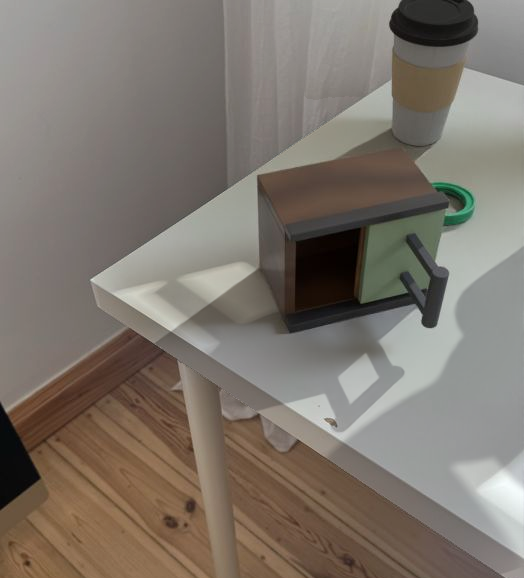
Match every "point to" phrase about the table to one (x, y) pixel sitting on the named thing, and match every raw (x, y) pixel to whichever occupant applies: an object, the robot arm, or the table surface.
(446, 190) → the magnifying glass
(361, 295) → the door
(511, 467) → the table surface
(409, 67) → the coffee cup
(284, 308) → the closet
